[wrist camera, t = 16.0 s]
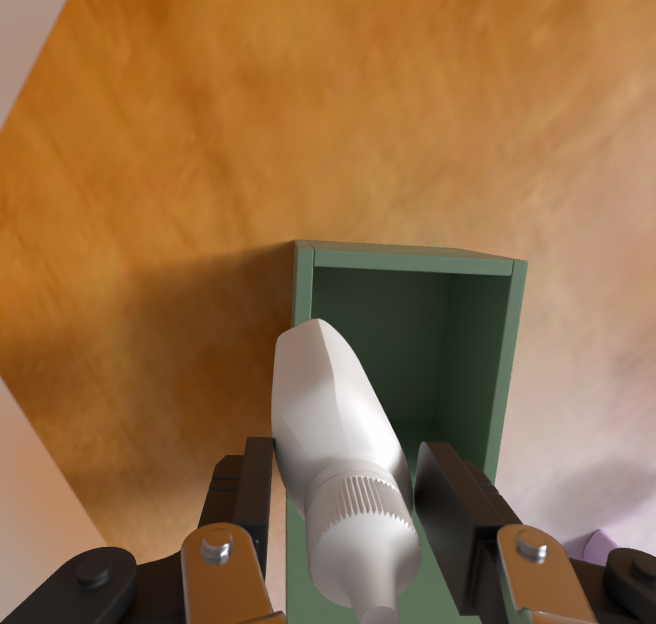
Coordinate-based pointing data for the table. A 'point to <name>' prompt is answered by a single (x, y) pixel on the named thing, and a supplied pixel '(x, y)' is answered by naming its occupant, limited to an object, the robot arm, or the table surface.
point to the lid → (335, 620)
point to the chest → (422, 335)
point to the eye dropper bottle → (343, 473)
